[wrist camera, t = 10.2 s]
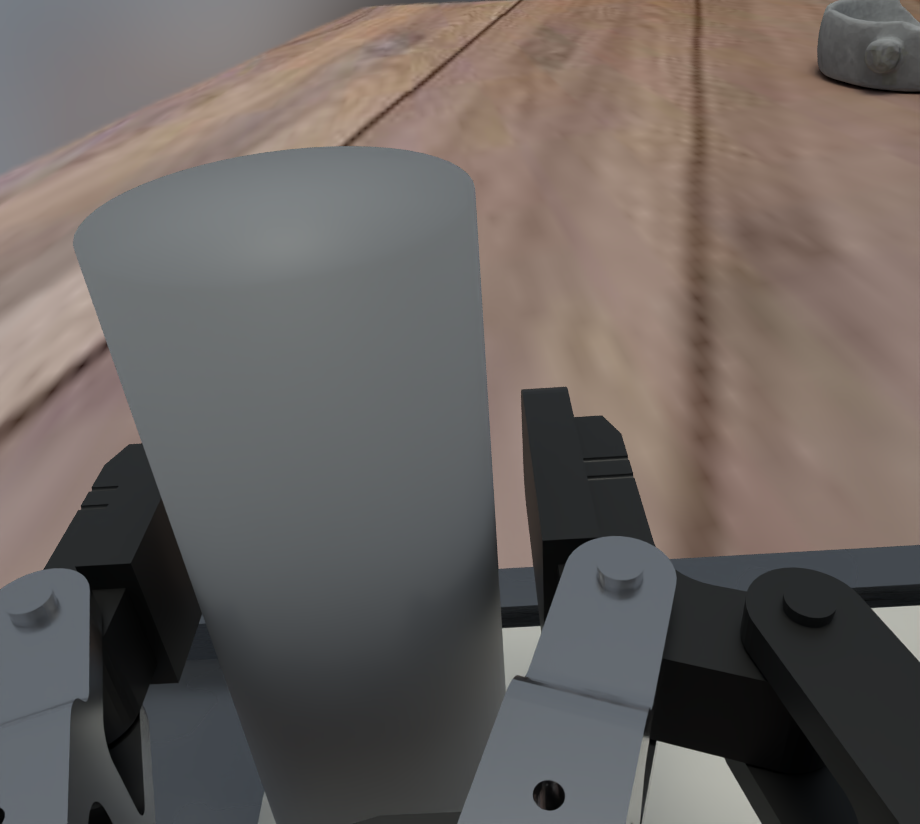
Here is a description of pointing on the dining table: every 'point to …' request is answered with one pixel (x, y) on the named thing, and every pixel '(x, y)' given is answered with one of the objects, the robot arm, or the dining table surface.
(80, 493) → the dining table surface
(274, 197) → the grey post on base
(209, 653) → the track
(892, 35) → the dish
